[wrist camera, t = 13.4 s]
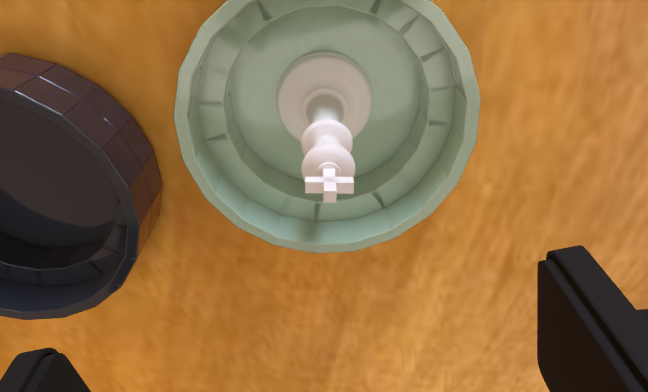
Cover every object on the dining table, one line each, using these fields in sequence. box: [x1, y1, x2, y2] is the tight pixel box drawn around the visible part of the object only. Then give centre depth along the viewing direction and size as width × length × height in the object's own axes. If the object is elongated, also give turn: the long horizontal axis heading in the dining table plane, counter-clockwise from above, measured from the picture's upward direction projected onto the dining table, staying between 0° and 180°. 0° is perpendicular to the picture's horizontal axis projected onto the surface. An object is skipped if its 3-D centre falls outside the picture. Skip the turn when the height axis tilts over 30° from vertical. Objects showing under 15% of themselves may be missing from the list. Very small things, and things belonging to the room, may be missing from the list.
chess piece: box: [276, 51, 373, 203], centre depth 21 cm, size 5×5×10 cm
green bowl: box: [173, 0, 481, 253], centre depth 24 cm, size 13×13×4 cm
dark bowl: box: [0, 53, 162, 320], centre depth 26 cm, size 13×13×4 cm
